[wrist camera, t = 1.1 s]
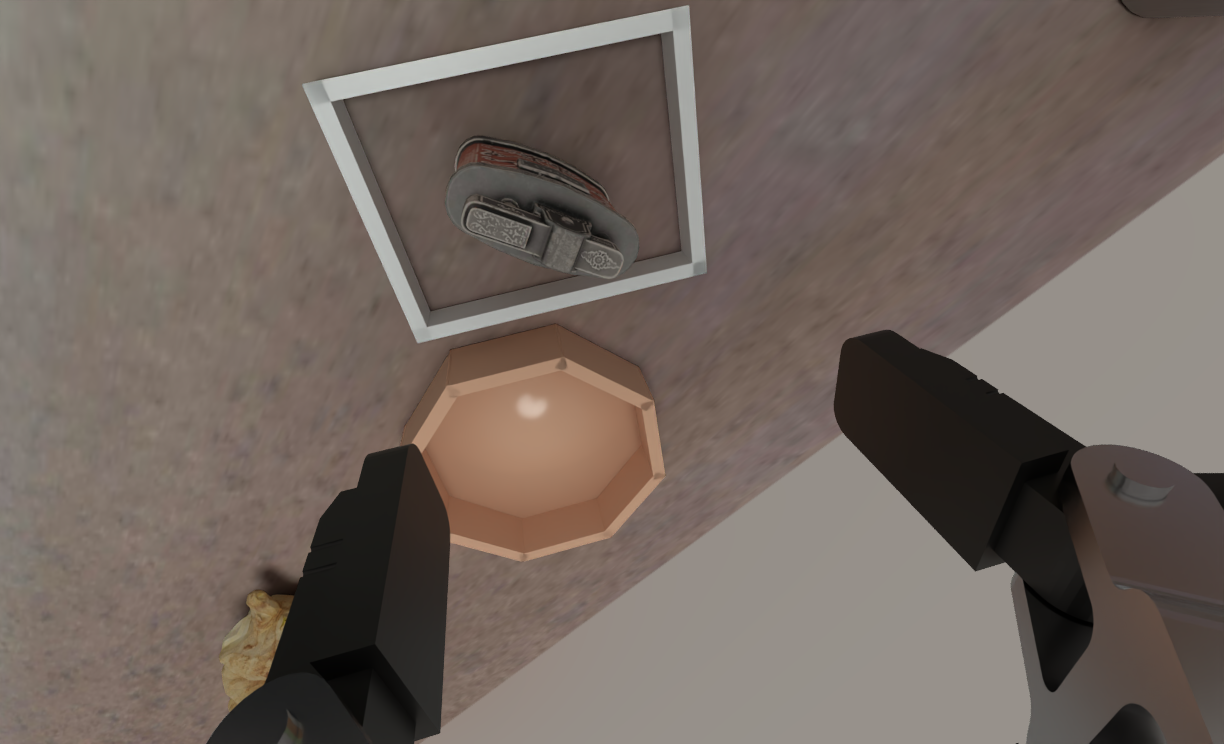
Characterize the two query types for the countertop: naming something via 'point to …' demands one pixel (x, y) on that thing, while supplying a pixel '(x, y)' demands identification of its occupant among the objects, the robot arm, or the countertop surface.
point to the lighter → (538, 209)
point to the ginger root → (253, 645)
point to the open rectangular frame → (333, 90)
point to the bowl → (537, 442)
